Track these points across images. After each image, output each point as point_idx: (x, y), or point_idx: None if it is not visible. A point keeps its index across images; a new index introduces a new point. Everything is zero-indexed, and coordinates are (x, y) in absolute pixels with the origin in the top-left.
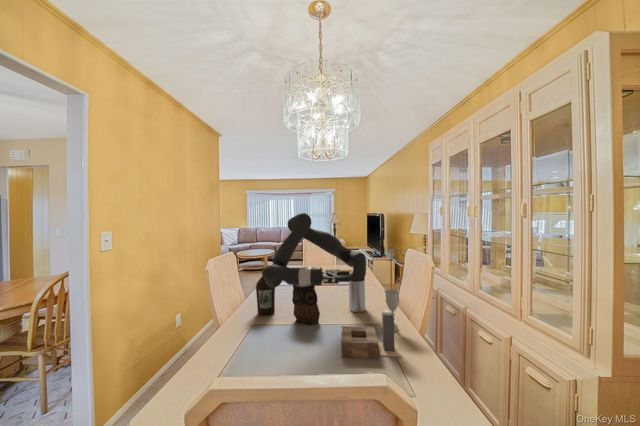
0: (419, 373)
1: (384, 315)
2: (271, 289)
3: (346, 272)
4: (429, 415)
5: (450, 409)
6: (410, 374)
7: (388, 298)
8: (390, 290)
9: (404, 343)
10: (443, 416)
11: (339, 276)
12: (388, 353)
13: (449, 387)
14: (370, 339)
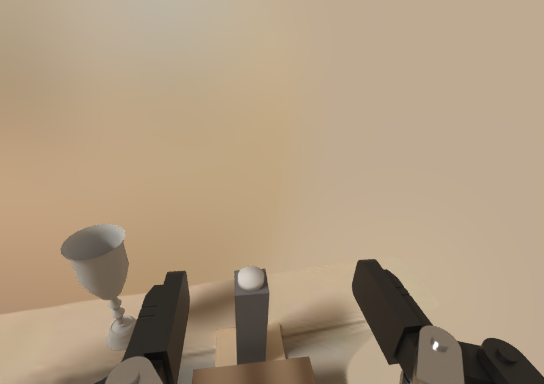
0: (330, 300)
1: (262, 290)
2: None
3: (181, 298)
4: (431, 302)
5: (398, 277)
6: (340, 315)
7: (112, 268)
8: (68, 246)
9: (215, 313)
10: (419, 287)
11: (439, 329)
12: (275, 352)
13: (348, 269)
14: (290, 381)
